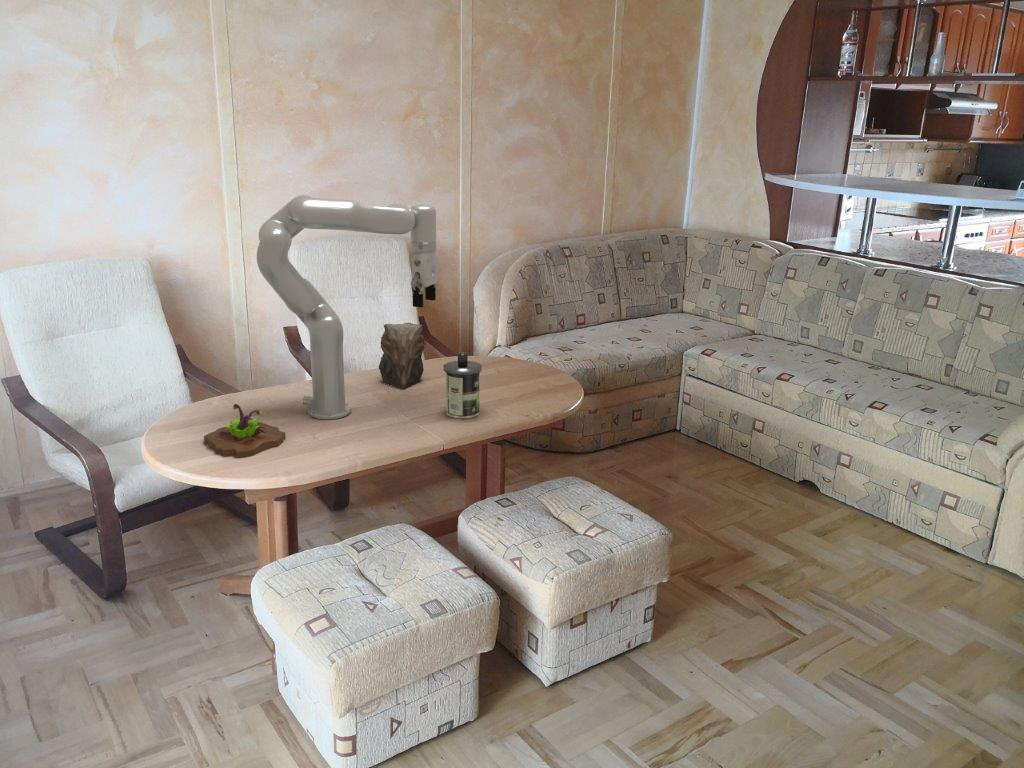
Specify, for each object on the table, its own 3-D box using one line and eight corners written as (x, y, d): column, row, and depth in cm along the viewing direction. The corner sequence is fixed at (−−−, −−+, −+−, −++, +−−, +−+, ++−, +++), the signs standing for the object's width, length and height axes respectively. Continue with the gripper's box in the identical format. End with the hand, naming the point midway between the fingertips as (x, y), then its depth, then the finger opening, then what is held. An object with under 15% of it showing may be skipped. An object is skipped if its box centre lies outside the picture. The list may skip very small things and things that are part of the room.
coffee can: (480, 407, 265) (480, 364, 261) (478, 419, 256) (478, 374, 251) (447, 406, 265) (447, 363, 261) (444, 418, 256) (444, 374, 251)
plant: (253, 424, 249) (250, 388, 245) (296, 441, 237) (293, 403, 234) (192, 444, 234) (188, 406, 230) (234, 463, 222) (231, 423, 219)
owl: (377, 381, 287) (375, 324, 280) (405, 373, 296) (404, 318, 289) (402, 390, 279) (401, 331, 273) (430, 381, 288) (429, 324, 282)
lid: (437, 372, 252) (437, 356, 250) (451, 362, 263) (451, 346, 261) (474, 377, 249) (474, 360, 248) (486, 365, 260) (486, 350, 258)
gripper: (424, 252, 243) (424, 310, 249) (446, 243, 259) (446, 298, 264) (400, 250, 245) (401, 308, 251) (423, 242, 261) (423, 296, 266)
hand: (424, 303), depth 258 cm, fingers open, 9 cm apart
